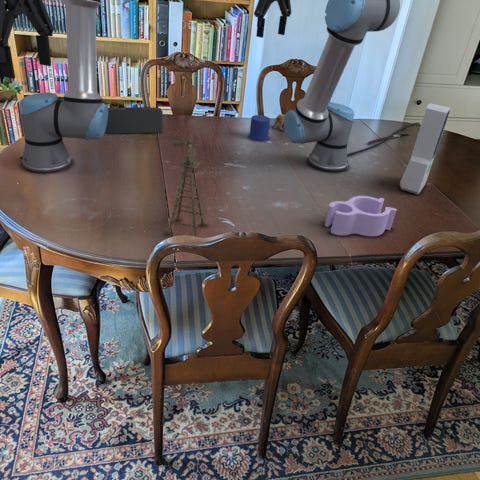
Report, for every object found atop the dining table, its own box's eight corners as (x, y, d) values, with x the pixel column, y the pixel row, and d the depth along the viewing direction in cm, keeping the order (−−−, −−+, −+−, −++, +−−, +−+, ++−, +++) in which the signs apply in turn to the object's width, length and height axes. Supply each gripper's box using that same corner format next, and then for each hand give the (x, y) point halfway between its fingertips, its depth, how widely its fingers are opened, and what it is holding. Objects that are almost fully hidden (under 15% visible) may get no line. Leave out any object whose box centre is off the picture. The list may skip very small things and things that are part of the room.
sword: (406, 132, 223) (406, 130, 222) (411, 134, 221) (412, 132, 220) (362, 144, 207) (363, 141, 206) (368, 146, 205) (368, 143, 204)
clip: (337, 240, 135) (342, 219, 131) (318, 218, 145) (322, 198, 141) (395, 233, 141) (402, 213, 137) (373, 213, 151) (378, 194, 147)
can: (263, 142, 196) (265, 122, 191) (246, 138, 198) (248, 118, 193) (270, 137, 202) (272, 117, 197) (253, 133, 204) (255, 113, 200)
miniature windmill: (195, 240, 128) (201, 135, 112) (166, 234, 129) (167, 130, 113) (204, 224, 136) (210, 124, 119) (176, 219, 137) (178, 119, 120)
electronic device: (417, 196, 165) (445, 112, 149) (397, 189, 168) (422, 107, 152) (426, 184, 174) (453, 104, 158) (406, 178, 177) (431, 99, 161)
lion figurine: (298, 126, 216) (301, 107, 212) (303, 130, 212) (306, 111, 207) (269, 127, 212) (271, 107, 207) (273, 131, 207) (276, 111, 203)
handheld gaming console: (161, 130, 196) (161, 106, 191) (162, 132, 194) (162, 108, 189) (105, 131, 189) (103, 107, 184) (105, 134, 187) (104, 109, 181)
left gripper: (-15, -33, 85) (6, 86, 96) (62, -35, 105) (72, 62, 117) (-50, -37, 86) (-25, 80, 97) (33, -39, 107) (45, 58, 118)
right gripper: (289, -29, 177) (281, 31, 188) (248, -31, 160) (242, 36, 171) (306, -27, 173) (297, 35, 184) (265, -28, 156) (258, 40, 168)
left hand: (28, 71), depth 107 cm, fingers open, 13 cm apart
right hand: (270, 35), depth 178 cm, fingers open, 13 cm apart
